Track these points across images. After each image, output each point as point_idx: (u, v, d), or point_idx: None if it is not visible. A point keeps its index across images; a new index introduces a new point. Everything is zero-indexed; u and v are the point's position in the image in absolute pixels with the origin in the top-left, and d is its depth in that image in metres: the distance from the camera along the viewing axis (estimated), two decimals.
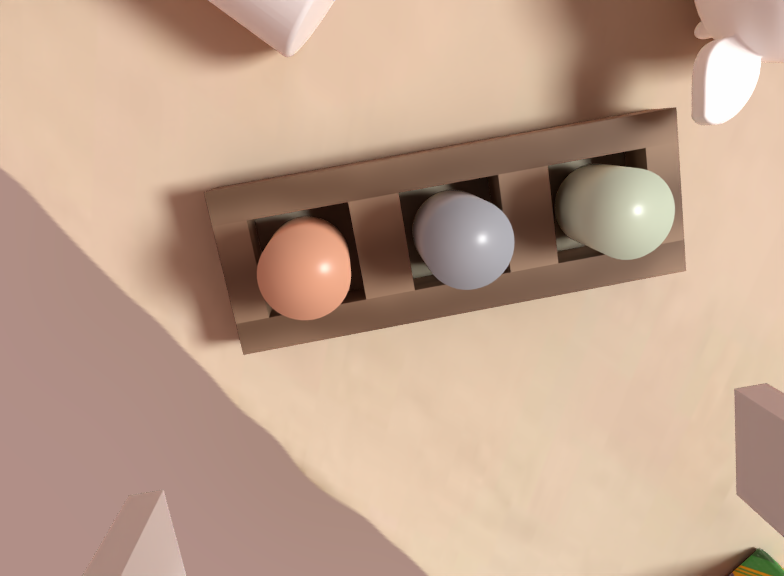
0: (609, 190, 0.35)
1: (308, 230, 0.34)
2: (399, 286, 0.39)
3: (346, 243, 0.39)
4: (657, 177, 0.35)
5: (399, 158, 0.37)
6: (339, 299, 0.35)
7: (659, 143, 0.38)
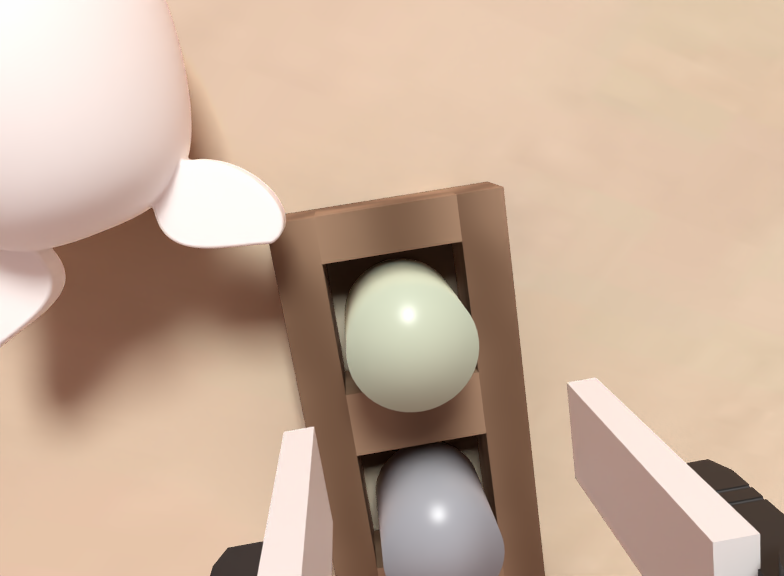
0: (377, 382, 0.24)
1: None
2: None
3: None
4: (360, 316, 0.24)
5: (335, 568, 0.30)
6: None
7: (316, 245, 0.27)
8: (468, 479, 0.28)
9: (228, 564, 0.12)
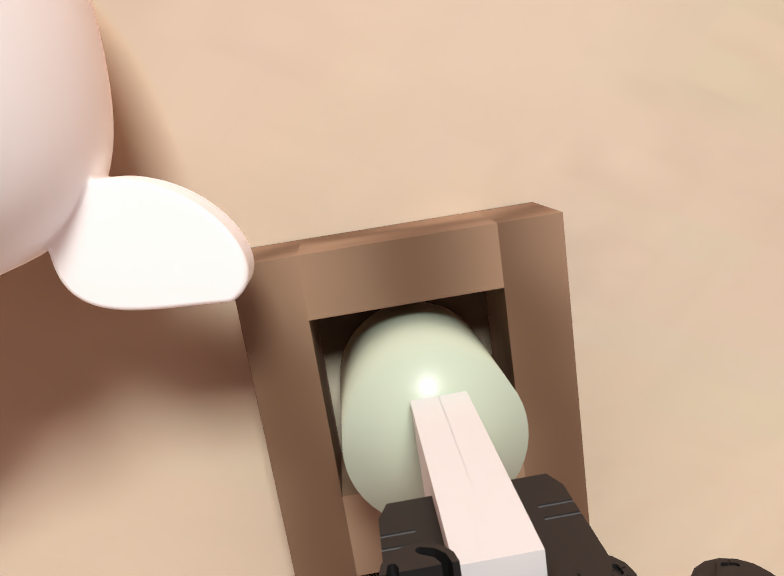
0: (385, 486, 0.17)
1: None
2: None
3: None
4: (362, 396, 0.17)
5: None
6: None
7: (300, 294, 0.19)
8: None
9: (393, 517, 0.13)
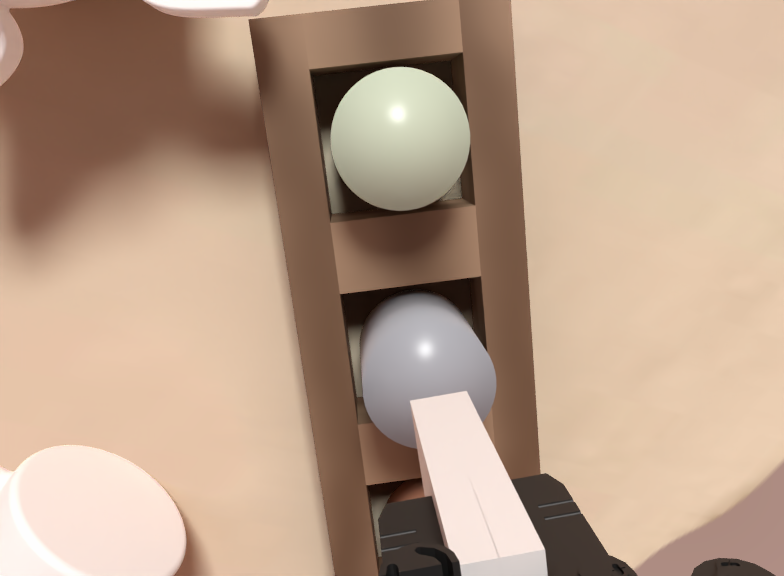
0: (362, 175, 0.23)
1: None
2: None
3: (420, 481, 0.30)
4: (346, 98, 0.22)
5: (312, 422, 0.28)
6: None
7: (303, 46, 0.25)
8: (460, 317, 0.26)
9: (393, 518, 0.13)
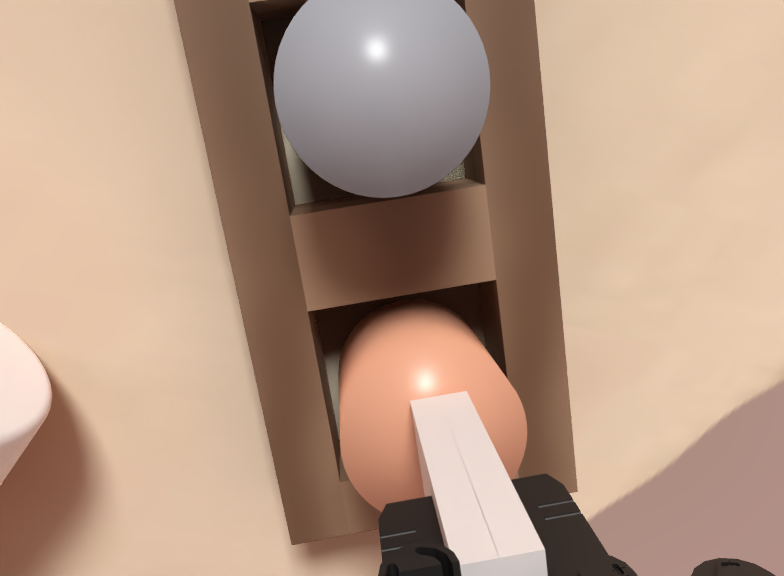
0: None
1: (343, 432, 0.17)
2: (475, 215, 0.20)
3: (387, 309, 0.21)
4: None
5: (222, 213, 0.19)
6: (489, 373, 0.17)
7: None
8: None
9: (393, 517, 0.13)
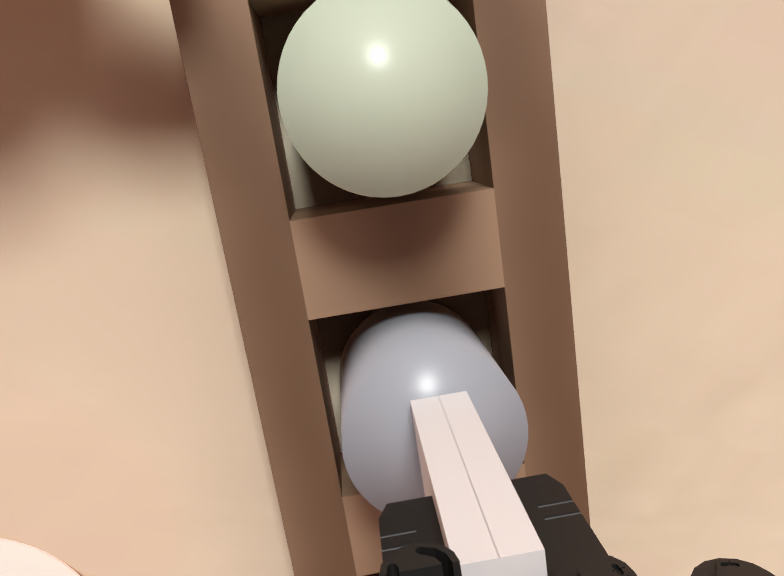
0: (327, 145, 0.15)
1: None
2: None
3: None
4: (298, 29, 0.15)
5: (279, 497, 0.20)
6: None
7: None
8: (473, 338, 0.19)
9: (393, 517, 0.13)
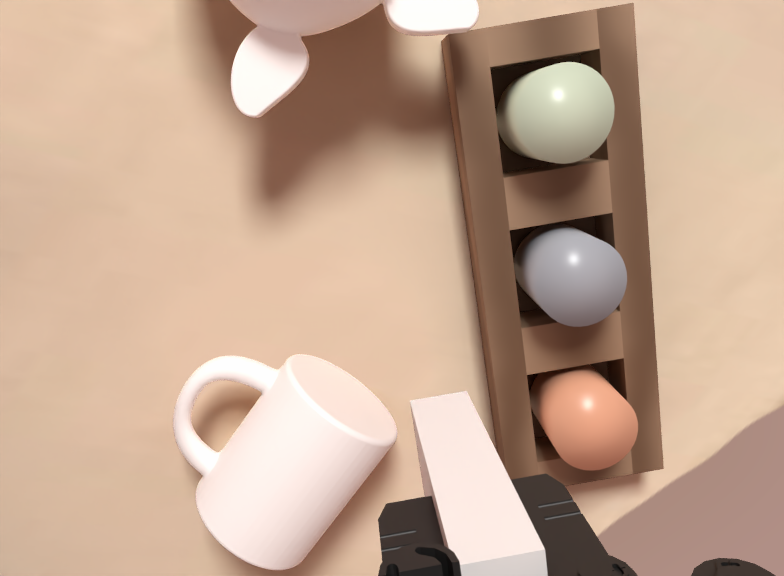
0: (538, 139, 0.33)
1: (554, 427, 0.37)
2: (614, 326, 0.39)
3: None
4: (528, 86, 0.32)
5: (488, 327, 0.38)
6: (621, 401, 0.37)
7: (486, 50, 0.34)
8: None
9: (393, 517, 0.13)
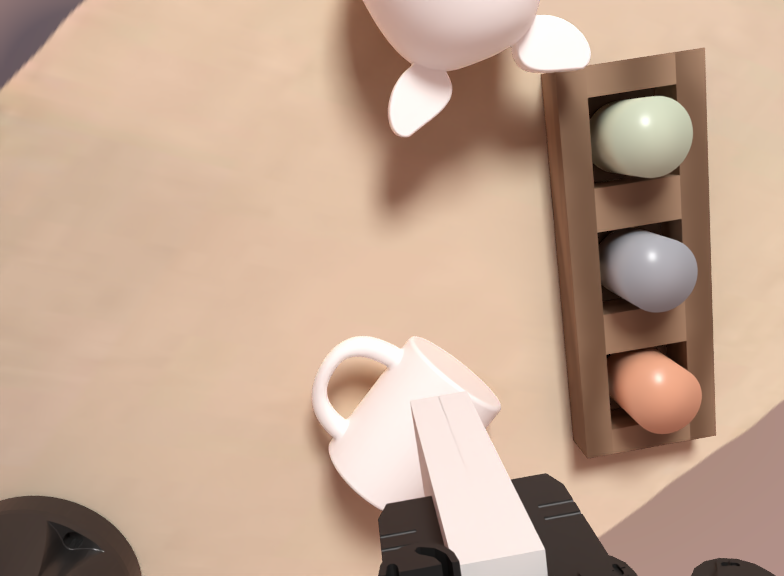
0: (631, 158, 0.40)
1: (633, 397, 0.44)
2: (679, 313, 0.46)
3: None
4: (625, 115, 0.40)
5: (576, 314, 0.46)
6: (689, 375, 0.44)
7: (585, 84, 0.42)
8: None
9: (393, 517, 0.13)
